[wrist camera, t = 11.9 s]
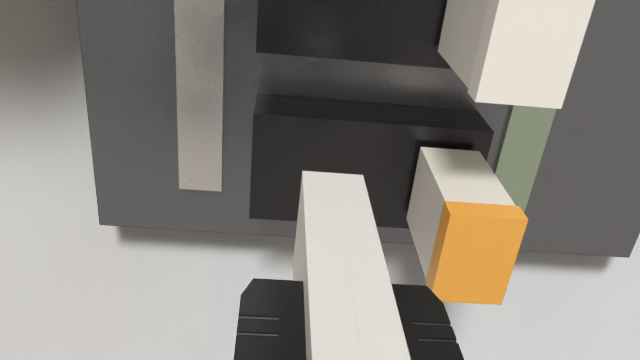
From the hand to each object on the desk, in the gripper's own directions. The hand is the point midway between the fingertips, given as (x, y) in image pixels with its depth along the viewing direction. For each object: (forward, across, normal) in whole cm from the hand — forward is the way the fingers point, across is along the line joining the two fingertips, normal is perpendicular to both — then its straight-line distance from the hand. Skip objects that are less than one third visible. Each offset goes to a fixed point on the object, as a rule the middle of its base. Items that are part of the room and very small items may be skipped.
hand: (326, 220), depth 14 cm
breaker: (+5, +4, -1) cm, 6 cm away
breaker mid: (+5, +4, +5) cm, 8 cm away
